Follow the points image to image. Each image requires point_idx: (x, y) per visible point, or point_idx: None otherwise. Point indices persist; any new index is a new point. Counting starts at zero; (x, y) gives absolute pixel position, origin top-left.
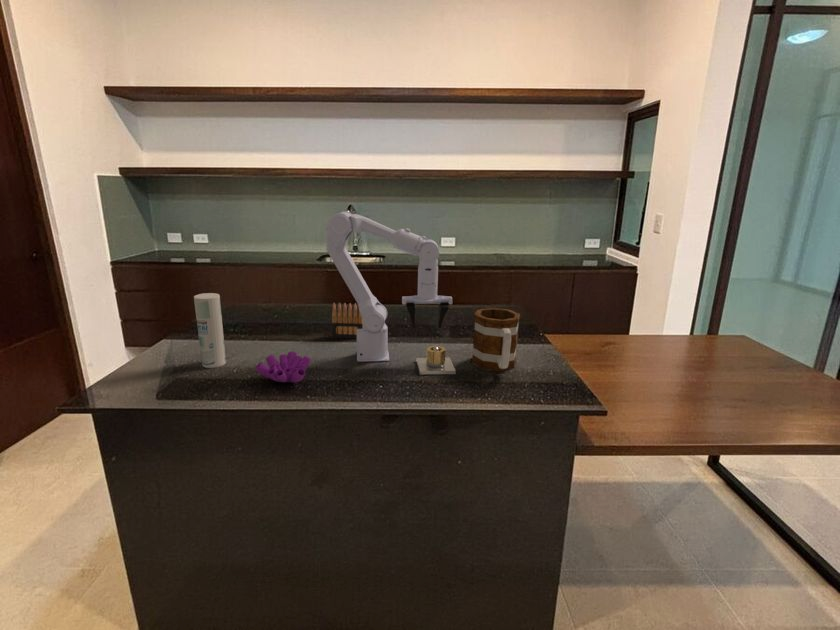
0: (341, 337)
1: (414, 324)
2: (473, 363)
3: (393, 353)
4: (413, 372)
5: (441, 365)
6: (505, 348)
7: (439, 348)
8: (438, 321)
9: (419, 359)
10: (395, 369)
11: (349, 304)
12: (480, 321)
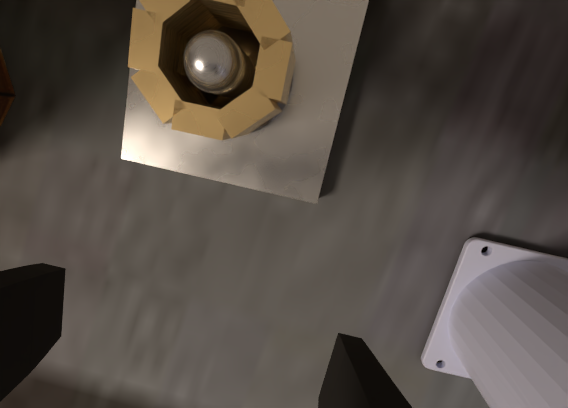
0: None
1: (358, 360)
2: (7, 74)
3: (397, 335)
4: (393, 38)
5: None
6: None
7: (172, 84)
8: (3, 352)
9: (307, 176)
10: (477, 114)
11: None
12: None
